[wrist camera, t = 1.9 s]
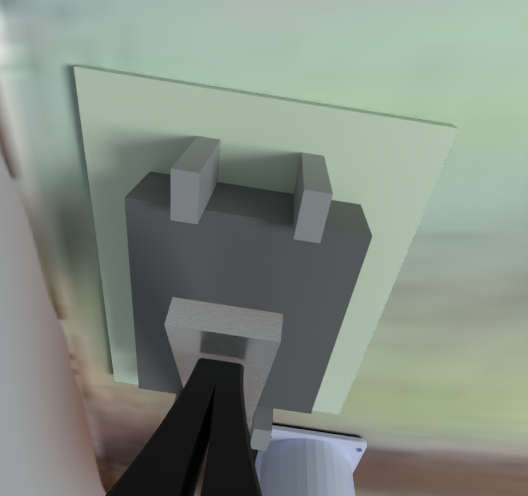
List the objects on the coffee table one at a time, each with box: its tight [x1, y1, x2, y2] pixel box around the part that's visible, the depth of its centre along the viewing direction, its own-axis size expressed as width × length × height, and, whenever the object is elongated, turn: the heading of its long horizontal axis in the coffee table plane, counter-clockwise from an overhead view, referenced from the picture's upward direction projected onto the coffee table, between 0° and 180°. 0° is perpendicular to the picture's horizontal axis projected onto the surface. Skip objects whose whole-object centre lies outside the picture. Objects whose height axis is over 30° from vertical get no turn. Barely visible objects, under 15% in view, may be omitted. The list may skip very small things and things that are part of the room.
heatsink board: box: [74, 65, 459, 451], centre depth 18 cm, size 20×16×5 cm
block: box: [164, 297, 283, 428], centre depth 15 cm, size 14×3×1 cm, turn 173°
